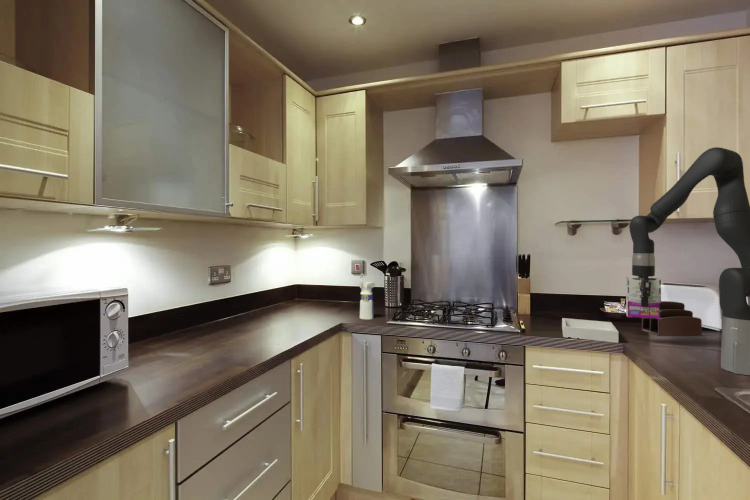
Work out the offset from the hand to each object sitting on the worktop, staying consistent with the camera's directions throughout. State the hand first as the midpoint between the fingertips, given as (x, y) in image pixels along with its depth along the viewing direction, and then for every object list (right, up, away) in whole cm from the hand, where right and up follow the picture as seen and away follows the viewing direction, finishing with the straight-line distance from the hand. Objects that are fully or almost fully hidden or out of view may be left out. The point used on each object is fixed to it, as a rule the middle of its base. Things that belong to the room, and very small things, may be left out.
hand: (642, 305), depth 148 cm
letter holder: (+25, -15, +16) cm, 34 cm away
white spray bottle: (-114, -14, +46) cm, 124 cm away
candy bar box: (0, -5, 0) cm, 5 cm away
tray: (-15, -15, +13) cm, 25 cm away
